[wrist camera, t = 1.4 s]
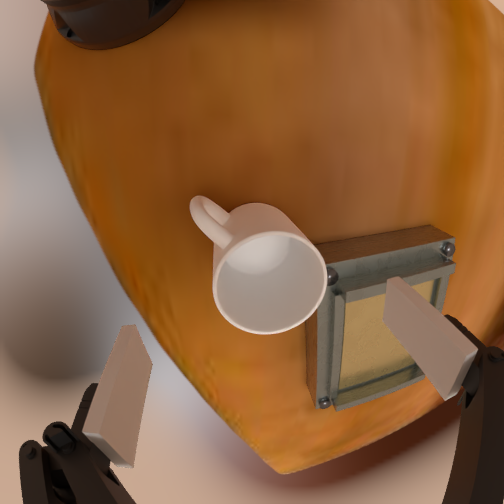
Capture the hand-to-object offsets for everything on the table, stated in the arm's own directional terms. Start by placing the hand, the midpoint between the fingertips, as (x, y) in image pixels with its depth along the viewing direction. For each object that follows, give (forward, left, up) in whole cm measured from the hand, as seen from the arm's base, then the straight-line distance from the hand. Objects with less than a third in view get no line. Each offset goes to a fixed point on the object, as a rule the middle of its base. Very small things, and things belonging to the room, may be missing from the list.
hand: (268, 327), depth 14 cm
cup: (0, 0, -16) cm, 17 cm away
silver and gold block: (+14, +15, -16) cm, 26 cm away
